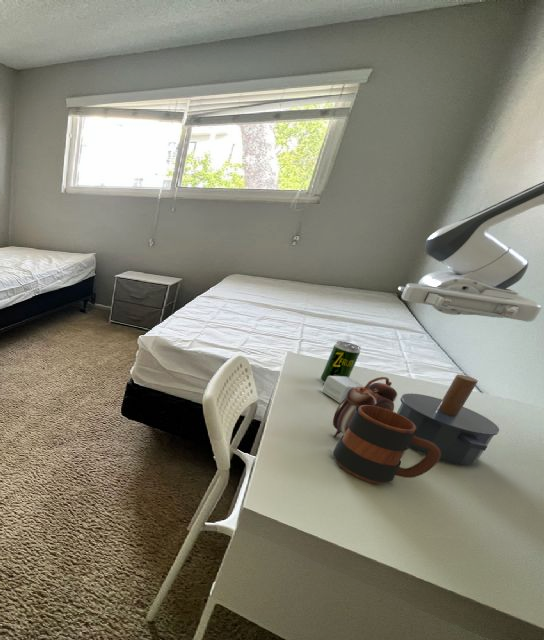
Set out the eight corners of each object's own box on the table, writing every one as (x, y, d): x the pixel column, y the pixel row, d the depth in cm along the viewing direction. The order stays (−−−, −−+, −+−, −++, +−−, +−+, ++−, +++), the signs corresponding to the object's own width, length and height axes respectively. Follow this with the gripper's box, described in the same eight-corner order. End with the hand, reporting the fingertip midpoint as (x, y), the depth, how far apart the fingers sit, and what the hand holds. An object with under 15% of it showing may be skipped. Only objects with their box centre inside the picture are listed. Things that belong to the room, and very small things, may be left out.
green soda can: (317, 377, 100) (333, 339, 96) (341, 382, 98) (358, 344, 94) (322, 385, 96) (338, 346, 91) (346, 391, 93) (364, 351, 89)
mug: (416, 507, 58) (451, 452, 54) (327, 464, 66) (351, 413, 62) (418, 482, 63) (450, 430, 59) (336, 446, 71) (358, 397, 67)
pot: (439, 427, 80) (455, 400, 78) (505, 484, 64) (528, 451, 62) (371, 412, 84) (385, 386, 81) (418, 462, 68) (436, 431, 66)
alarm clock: (355, 428, 78) (383, 369, 72) (381, 442, 73) (413, 381, 68) (322, 435, 74) (349, 374, 69) (347, 451, 70) (378, 387, 65)
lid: (463, 407, 76) (485, 370, 73) (518, 447, 64) (547, 405, 61) (385, 392, 80) (403, 356, 77) (423, 426, 68) (446, 385, 65)
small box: (360, 404, 88) (368, 387, 86) (339, 403, 87) (347, 386, 85) (339, 391, 93) (347, 375, 91) (320, 391, 92) (327, 375, 91)
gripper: (401, 274, 89) (414, 283, 78) (527, 292, 77) (562, 305, 67) (391, 298, 91) (402, 310, 80) (511, 318, 80) (543, 335, 69)
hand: (476, 308), depth 74 cm, fingers open, 8 cm apart
